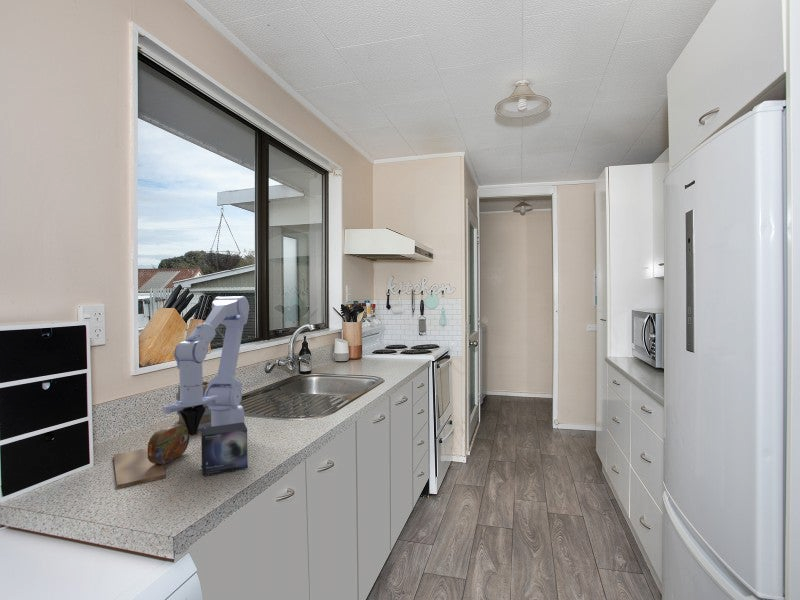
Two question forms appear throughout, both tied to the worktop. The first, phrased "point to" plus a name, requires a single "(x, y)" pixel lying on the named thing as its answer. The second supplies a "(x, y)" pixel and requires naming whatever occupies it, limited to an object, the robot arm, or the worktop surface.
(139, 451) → the chopping board
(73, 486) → the worktop surface
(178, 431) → the tin
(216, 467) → the small box
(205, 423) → the tankard
